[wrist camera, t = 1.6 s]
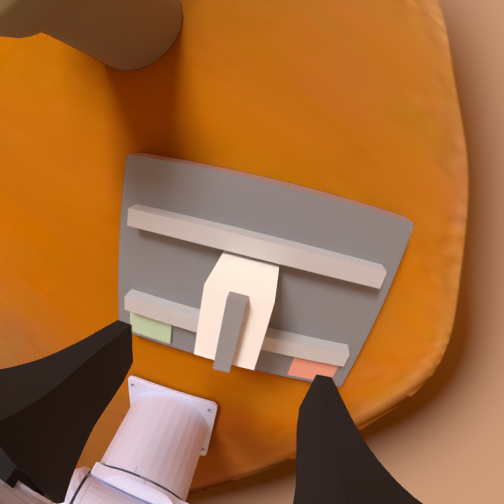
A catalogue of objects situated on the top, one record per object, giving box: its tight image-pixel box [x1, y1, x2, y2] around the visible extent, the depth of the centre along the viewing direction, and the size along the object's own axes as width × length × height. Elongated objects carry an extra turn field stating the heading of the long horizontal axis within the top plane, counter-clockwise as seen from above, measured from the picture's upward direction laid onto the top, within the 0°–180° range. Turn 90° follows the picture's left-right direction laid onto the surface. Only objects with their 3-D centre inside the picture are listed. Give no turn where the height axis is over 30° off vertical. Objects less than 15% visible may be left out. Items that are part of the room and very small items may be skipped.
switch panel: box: [118, 152, 414, 387], centre depth 18 cm, size 12×16×2 cm
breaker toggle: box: [194, 250, 280, 373], centre depth 15 cm, size 4×3×5 cm
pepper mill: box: [0, 0, 183, 71], centre depth 9 cm, size 6×6×11 cm
